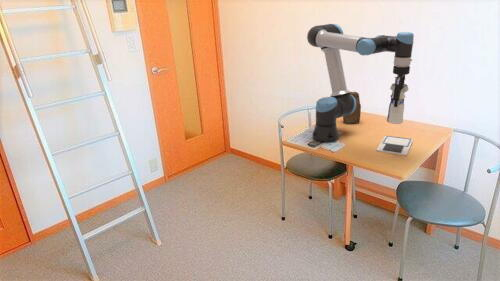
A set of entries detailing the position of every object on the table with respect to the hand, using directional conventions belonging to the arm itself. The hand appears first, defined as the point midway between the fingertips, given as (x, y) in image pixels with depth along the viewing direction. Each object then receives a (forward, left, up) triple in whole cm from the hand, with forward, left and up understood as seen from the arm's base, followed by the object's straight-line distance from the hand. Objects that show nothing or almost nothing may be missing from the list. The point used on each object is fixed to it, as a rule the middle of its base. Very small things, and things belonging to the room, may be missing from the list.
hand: (396, 110), depth 183 cm
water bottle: (0, 0, -6) cm, 6 cm away
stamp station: (0, +6, -22) cm, 23 cm away
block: (-32, +36, -22) cm, 53 cm away
